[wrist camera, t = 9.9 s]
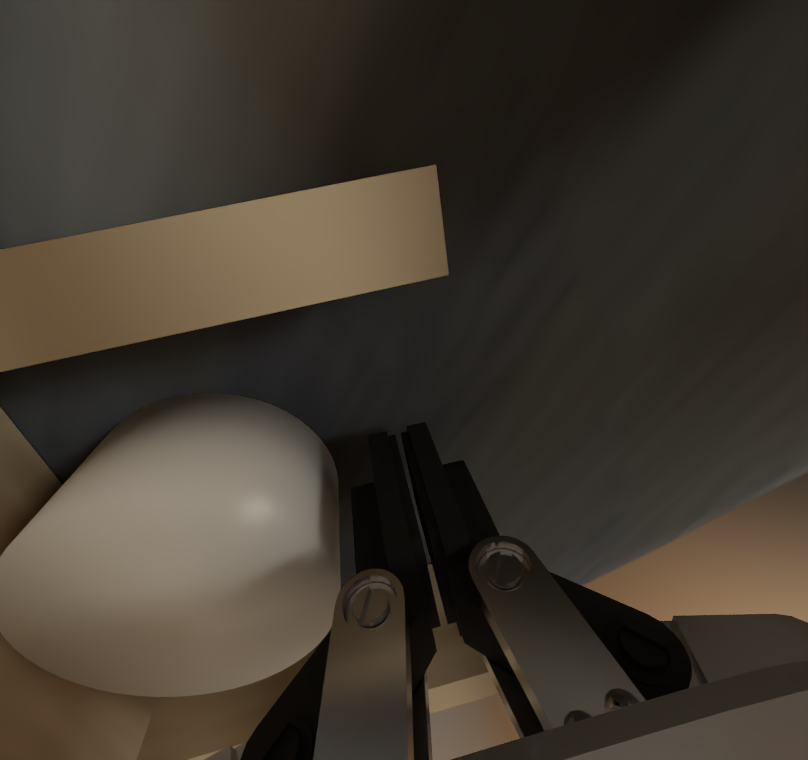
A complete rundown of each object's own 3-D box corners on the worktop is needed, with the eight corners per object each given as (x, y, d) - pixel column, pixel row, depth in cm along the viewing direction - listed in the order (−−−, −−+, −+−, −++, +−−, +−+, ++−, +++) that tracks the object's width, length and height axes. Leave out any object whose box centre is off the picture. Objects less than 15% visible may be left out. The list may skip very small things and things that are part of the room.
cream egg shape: (292, 358, 11) (272, 446, 7) (363, 527, 14) (374, 644, 10) (39, 431, 10) (-112, 560, 7) (174, 586, 14) (119, 725, 10)
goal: (393, 172, 9) (543, 144, 3) (460, 580, 16) (542, 833, 10) (-187, 286, 8) (-2007, 647, 2) (158, 663, 15) (37, 996, 9)
